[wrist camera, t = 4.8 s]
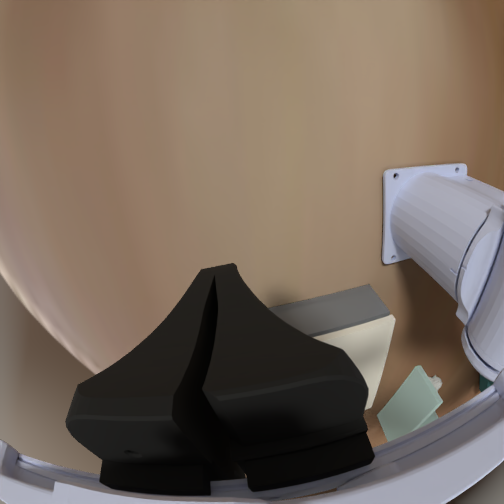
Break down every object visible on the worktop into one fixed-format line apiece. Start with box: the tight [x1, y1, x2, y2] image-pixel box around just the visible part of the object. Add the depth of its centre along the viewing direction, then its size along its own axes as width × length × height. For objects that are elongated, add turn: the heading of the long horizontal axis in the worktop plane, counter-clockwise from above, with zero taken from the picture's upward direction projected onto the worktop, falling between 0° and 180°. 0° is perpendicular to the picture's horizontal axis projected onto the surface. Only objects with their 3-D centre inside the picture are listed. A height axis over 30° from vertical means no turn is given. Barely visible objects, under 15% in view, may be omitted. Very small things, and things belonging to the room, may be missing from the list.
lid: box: [312, 315, 395, 410], centre depth 22 cm, size 16×14×1 cm
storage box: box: [268, 284, 390, 337], centre depth 25 cm, size 16×14×4 cm
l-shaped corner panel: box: [377, 365, 443, 442], centre depth 32 cm, size 12×12×8 cm
